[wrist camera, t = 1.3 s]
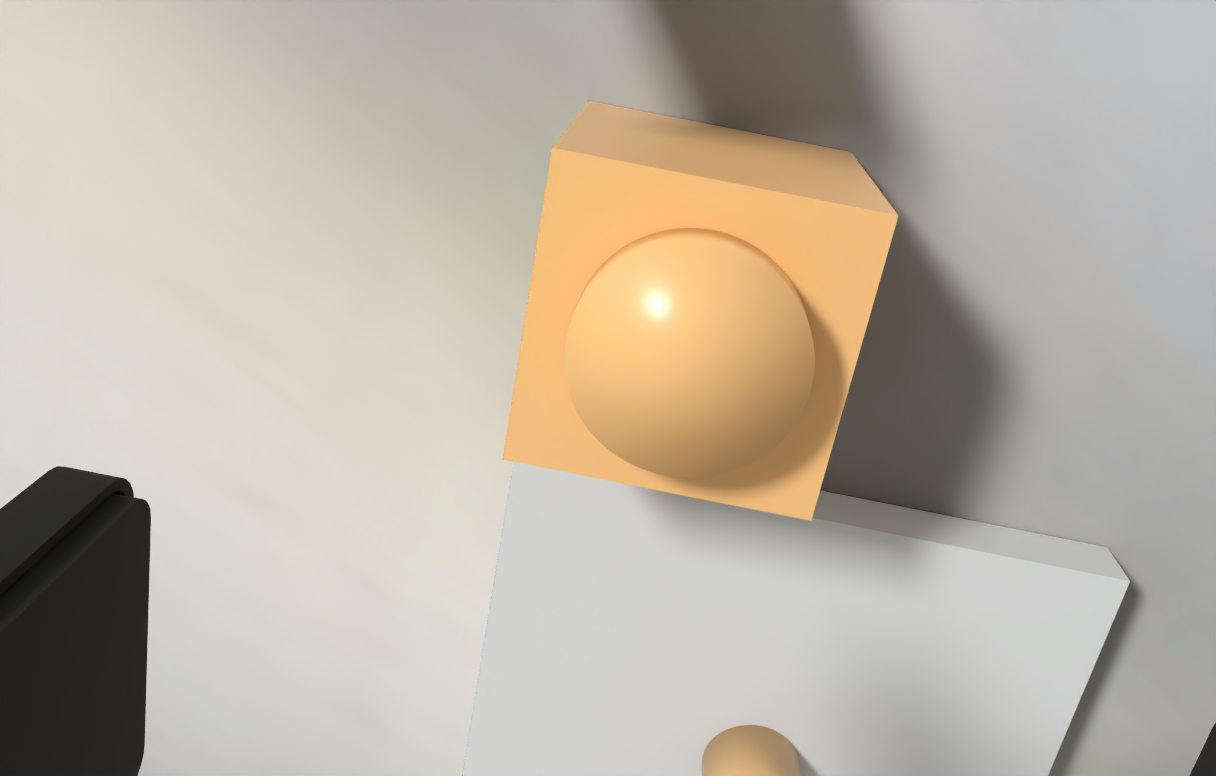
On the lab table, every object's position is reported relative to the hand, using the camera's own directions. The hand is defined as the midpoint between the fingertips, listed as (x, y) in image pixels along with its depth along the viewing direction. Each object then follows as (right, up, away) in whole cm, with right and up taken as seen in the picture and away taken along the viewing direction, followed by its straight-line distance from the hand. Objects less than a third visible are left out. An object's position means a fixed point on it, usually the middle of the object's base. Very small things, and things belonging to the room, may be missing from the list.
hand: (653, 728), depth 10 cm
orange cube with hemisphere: (+1, +6, +14) cm, 16 cm away
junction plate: (+3, -6, +19) cm, 20 cm away
